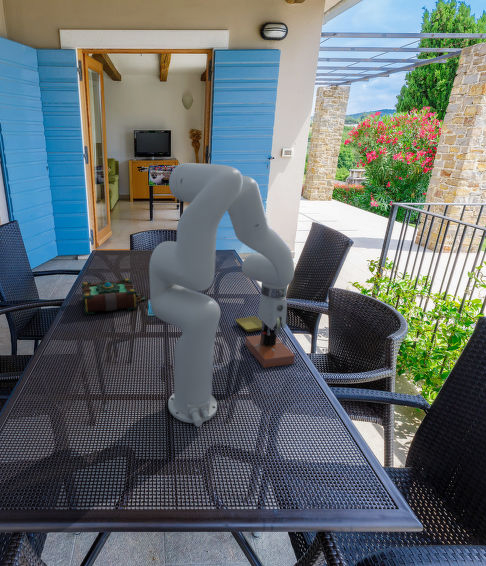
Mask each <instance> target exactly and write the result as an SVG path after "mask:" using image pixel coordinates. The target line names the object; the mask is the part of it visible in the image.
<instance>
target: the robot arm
mask: <svg viewBox="0 0 486 566" xmlns="http://www.w3.org/2000/svg"><path fill="white" fill-rule="evenodd" d="M168 187H169V190H170V193H171V194H172V196H173V197H174V198H176V200H178V201H180V202H184V203H188V205H187V206H186V208H185V209H184V211H183V212H182V214H181V215H180V217H179V218H178V222H177V227H176V241H174V240H165V241H163V242H160V243H159V244H157V245H156V247H155V248H154V249H153V251H152V254H151V255H150V259H149V265H148V274H149V276H148V277H149V297H150V300H149V301H150V307H151V311H152V313H153V315H154V316H155V317H156V318H157V319H159V320H160V321H163V322H165V323H167V324H169V325H171V326H174V327H175V328H177V329H179V330H180V331H181V335H180V337H179V338H177V340H176V342H175V345H174V370H173V371H174V374H173V375H174V376H173V377H174V381H173V382H174V383H173V393H172V394H171V395H170V397H169V398H168V402H167V408H168V411H169V413H170V414H171V416H172V417H174V418H175V419H176V420H179V421H181V422H183V423H188V424H194V426H195V427H197V428H198V427H201V426H203V425H204V424H203V423H205V422H208V421H209V420H211V419H212V418H213V417H214V416H215V415H216V414H217V411H218V402H217V399H216V398H215V396H214V395H213V377H214V376H213V374H214V358H215V357H214V355H215V343H216V335H217V330H218V327H219V324H220V319H221V308H220V305H219V303H218V302H217V301H216V300H215V299H214V298H212V297H210V296H209V295H207V294H204V293H202V291H206V290H207V289H209V288H210V287H211V286H212V285H213V283H214V280H215V275H216V257H217V255H216V254H217V236H218V235H217V234H218V233H217V232H218V229H219V225H220V223H221V220H222V219H223V217H224V215H225V214H226V212H227V214H228V217H229V218H230V223H231V226H232V228H233V231H234V234H235V237H236V239H237V240H238V241H239V242H241V244H243V245H245V246H246V247H248V248H249V249H251V250H253V251H255V253H251V254H249V255H248V256H246V257H245V259H243V262H242V264H241V272H242V274H243V275H244V276H245V278H247V279H250V280H253V281H256V282H260V283H261V288H260V297H259V305H258V310H257V311H258V314H257V315H258V319H260V320H261V321H262V330H261V333H262V332H267V334H266V338H265V346H271V345H275V338H276V337H277V336H278V335H282V329H285V328H286V325H287V314H288V304H287V303H288V301H287V294H288V293H287V292H288V286H289V285H290V284H291V283H292V281H293V280H294V277H295V262H294V257H293V253H292V250H291V247H290V246H289V244H288V243H287V242H286V240H284V239H283V238H282V236H280V234H278V232H277V231H275V229H273V227H271V226H270V225H269V221H268V218H267V214H266V211H265V207H264V201H263V198H262V194H261V191H260V186H259V184H258V182H257V181H256V180H255V179H254V178H253V177H251V176H247V175H242V172H241V171H240V170H239V169H237V168H236V167H233V166H231V165H226V164H217V163H198V162H197V163H196V162H182V163H179V164H178V165H176V166H175V167H174V168H173V170H172V171H171V172H170V174H169V179H168ZM276 335H277V336H276Z"/></svg>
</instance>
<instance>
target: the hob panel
mask: <svg viewBox="0 0 486 566" xmlns="http://www.w3.org/2000/svg"><path fill="white" fill-rule="evenodd" d="M260 340H261V334H259V335H250V336H245V341H244V345H245V346H246V348H247V349H248V351H250V353H251V354H252V355H253V357H254V358H255V359H256V360H257V361H258V363H259V364H260V365H261V366H262V367H263V368H264V369H265V368H272V367H273V368H274V367H280V366H287V365H288V366H289V365H293V364H295V358H296V355H295V354H294V353H293V352H292V351H291V350H290V349H289V347H287V346H286V345H285V344H284V343H283V341H281V340H280V338H278V336H276V344H275V345H271V346H262V345H261V344H260Z"/></svg>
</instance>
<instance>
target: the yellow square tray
mask: <svg viewBox="0 0 486 566" xmlns="http://www.w3.org/2000/svg"><path fill="white" fill-rule="evenodd" d="M235 322H236V323H237V324H238V326H240V327H241V328H242V329H243V330H244V331H245V332H246V333H251V332H257V331H263V330H262V320H261V319H260V318H259V317H257V316H255V315H252V316H247V317H240V318H235Z"/></svg>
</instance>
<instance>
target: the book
mask: <svg viewBox="0 0 486 566" xmlns="http://www.w3.org/2000/svg"><path fill="white" fill-rule="evenodd" d="M81 294H82V302H83V304H84V306H83V309H84V315H93V314H96V313H95V312H103V311H105V312H112V311H113V312H114V311H117V310H122V309H126V310H127V311H129V310H130V311H131V310H137V309H138V308H137V306H138V305H137V302H141V301H146V300H147V296H142V294H141V293H140V292H138V293H137V291H136V289H135V287H134V285H133V284H132V280H131V278H128V277H127V278H121V280H117V281H116V280H115V281H112V280H107V279H105V280H103V281H100V282H93V283H91V281H87V282H85V281H84V282H81Z"/></svg>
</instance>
